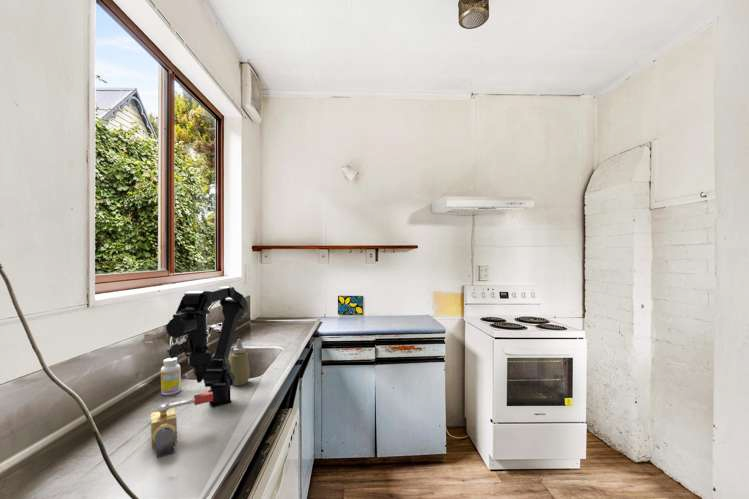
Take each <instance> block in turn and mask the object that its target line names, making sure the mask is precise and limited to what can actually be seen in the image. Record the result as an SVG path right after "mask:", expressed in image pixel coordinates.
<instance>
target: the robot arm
mask: <svg viewBox="0 0 749 499" xmlns="http://www.w3.org/2000/svg"><path fill="white" fill-rule="evenodd" d="M217 301H219V305H220V306H221V307H222V309H221V313H222V315H223V317H224V318H223V322H222V325H221V329H220V333H219V336H218V337H219V338H218V341H217V344H216V348H215V352H214V355H213V354H212V352H211V351H210V350H209V345H208V337H209V333H208V331H207V330H208V328H207V327H208V325H207V322H208V320H207V319H208V318H207V315H208V314H210V313H211V312H210V310H209V309H207V308H209V307H211V306H212V303H214V302H217ZM247 306H248V301H247V300H246V298H245V296H244V295H243V294H241V293H240V292H238V291H237V290H236V289H235V287H233V286H228V285H227V286H225V285H224V286H220V287H217V288H213V289H209V290H199V291H198V290H190V291H186V292H185V293H184V295H183V296H182V298H181V299H180V302H179V305H178V307H177V309H176V311H175V314H173V315H172V319H169V321H168V323H167V325H166V333H167V334H168V335H169V337H171V338H174V339H177V338H181V337H185V338H182V339H181V340H178V341H176V342H174V343H172V344H170V345H167V346H166V347H165V348H166V352H167V353H168V356H169V358H171V359H172V358H177V356H179V355H181V354H185V355H184V356H185V357H186V358H187V362H188V365H189V366H191V367H192V370H193V373H194V377H195V378H196V383H198V384H199V383H202V381H203V383H204V386H205V388H209V390H208V391H207V392H212V393H213V401H211V402H208V404H209V405H210V406H211V408H214V407H219V406H224V405H227V404H231V403H232V402H233V401H232V398H231V386H234V385H233V383H234V381H235V376H234V375H233V373H232V372H231V371H230V370H231V365H230V360H229V358H230V354H231V353H230V352H231V349H232V344H233V341H234V337H235V333H236V331H237V330H236V329H237V325H238V321H239V320H240V319H241V318H242V317H243V316H244V314H245V312H246V309H247Z"/></svg>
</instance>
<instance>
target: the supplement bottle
mask: <svg viewBox="0 0 749 499" xmlns="http://www.w3.org/2000/svg"><path fill="white" fill-rule="evenodd" d="M162 361H163V366H162V367H161V368H160V389H161V390H160V391H161V392H160V393H161V394H162V395H163V396H172V395H175V394H177V393H179V392H180V391H181V389H182V380H181V378H182V377H181V365H180V364H179V363H178V357H175V358H172V359H171V358H170V357H168V358H165V359H163V360H162Z"/></svg>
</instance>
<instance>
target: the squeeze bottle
mask: <svg viewBox="0 0 749 499" xmlns="http://www.w3.org/2000/svg"><path fill="white" fill-rule="evenodd" d="M232 352H233V353H232V354H231V355H230V360H229V362H230V365H231V370H230V371H231V372H232V373H233V375H234V376H235V381H234V383H233V385H232V386H243V385H246V384H248V382H249V378H250V375H251V368H250V362H249V361H250V360H249V359H250V358H249V354H248V352H246V347H245V346H243V344H242V340H241V338H237V342H236V347H234V348H233V350H232Z"/></svg>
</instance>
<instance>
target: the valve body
mask: <svg viewBox="0 0 749 499" xmlns="http://www.w3.org/2000/svg"><path fill="white" fill-rule="evenodd" d="M177 427H178V426H177V414H176V407H174V408H170V409H168V410H167V411H164V412H157V409H156V410H155V411H154V412H151V413H150V439H151V440H150V441H151V449H155V451H156V453H155V454H156V459H158V458H161V457H165V456H168V455H171V454H175V446H176V442H177V441H178V430H177Z"/></svg>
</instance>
